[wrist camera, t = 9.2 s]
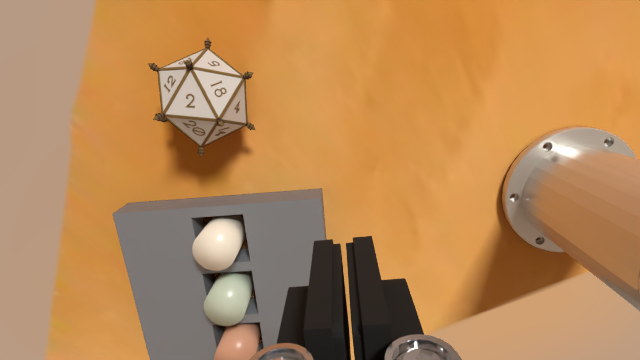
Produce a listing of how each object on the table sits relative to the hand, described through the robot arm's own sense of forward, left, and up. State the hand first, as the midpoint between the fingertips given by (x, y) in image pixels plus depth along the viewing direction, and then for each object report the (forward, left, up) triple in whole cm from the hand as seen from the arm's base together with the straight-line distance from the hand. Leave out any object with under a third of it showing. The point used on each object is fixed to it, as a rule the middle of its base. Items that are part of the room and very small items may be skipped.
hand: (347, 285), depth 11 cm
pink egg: (+12, +21, -27) cm, 36 cm away
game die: (+11, -5, -27) cm, 30 cm away
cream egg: (+12, +9, -27) cm, 30 cm away
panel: (+12, +15, -27) cm, 33 cm away
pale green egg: (+12, +15, -27) cm, 33 cm away
